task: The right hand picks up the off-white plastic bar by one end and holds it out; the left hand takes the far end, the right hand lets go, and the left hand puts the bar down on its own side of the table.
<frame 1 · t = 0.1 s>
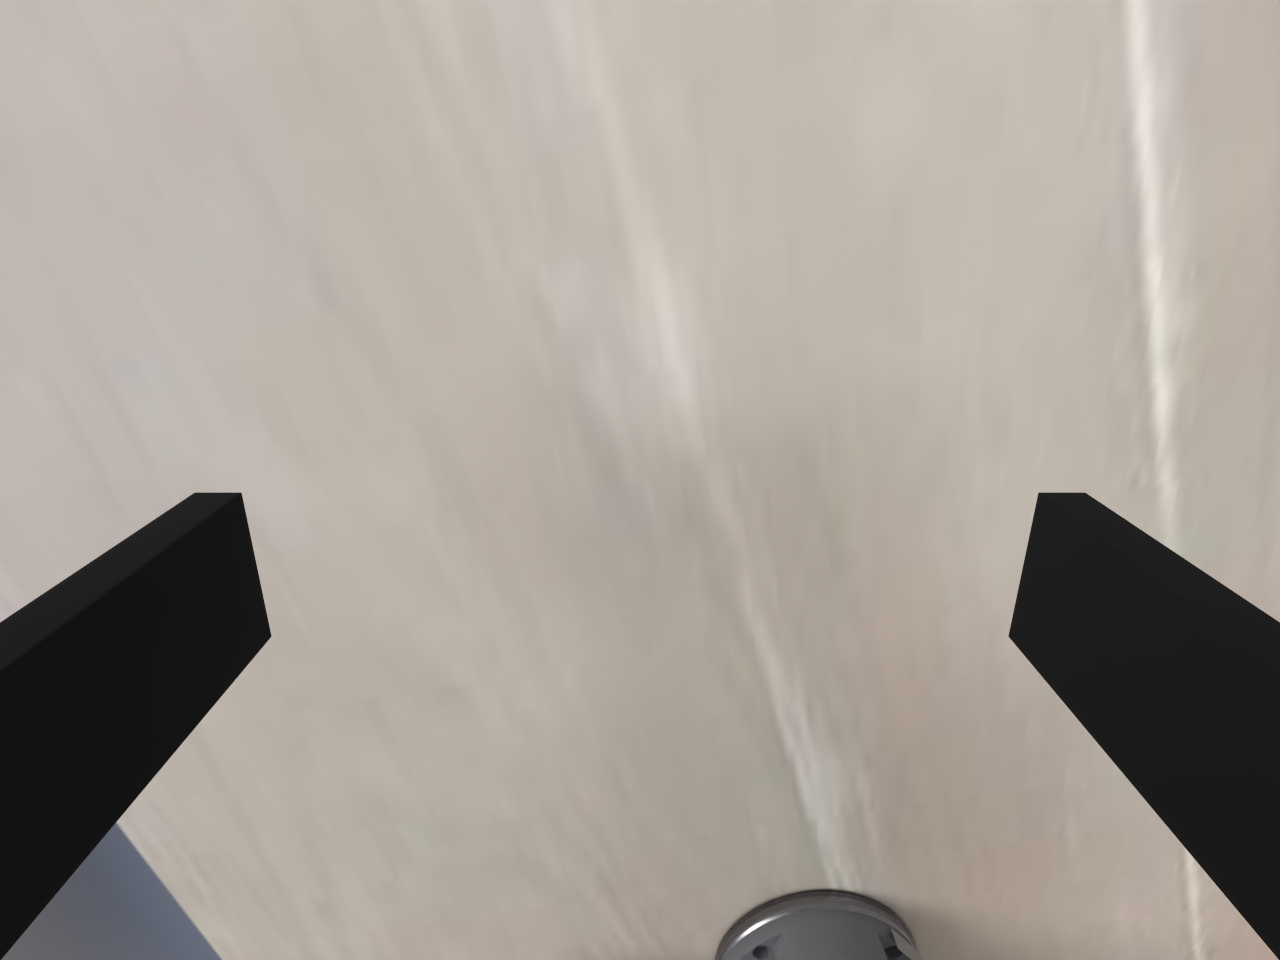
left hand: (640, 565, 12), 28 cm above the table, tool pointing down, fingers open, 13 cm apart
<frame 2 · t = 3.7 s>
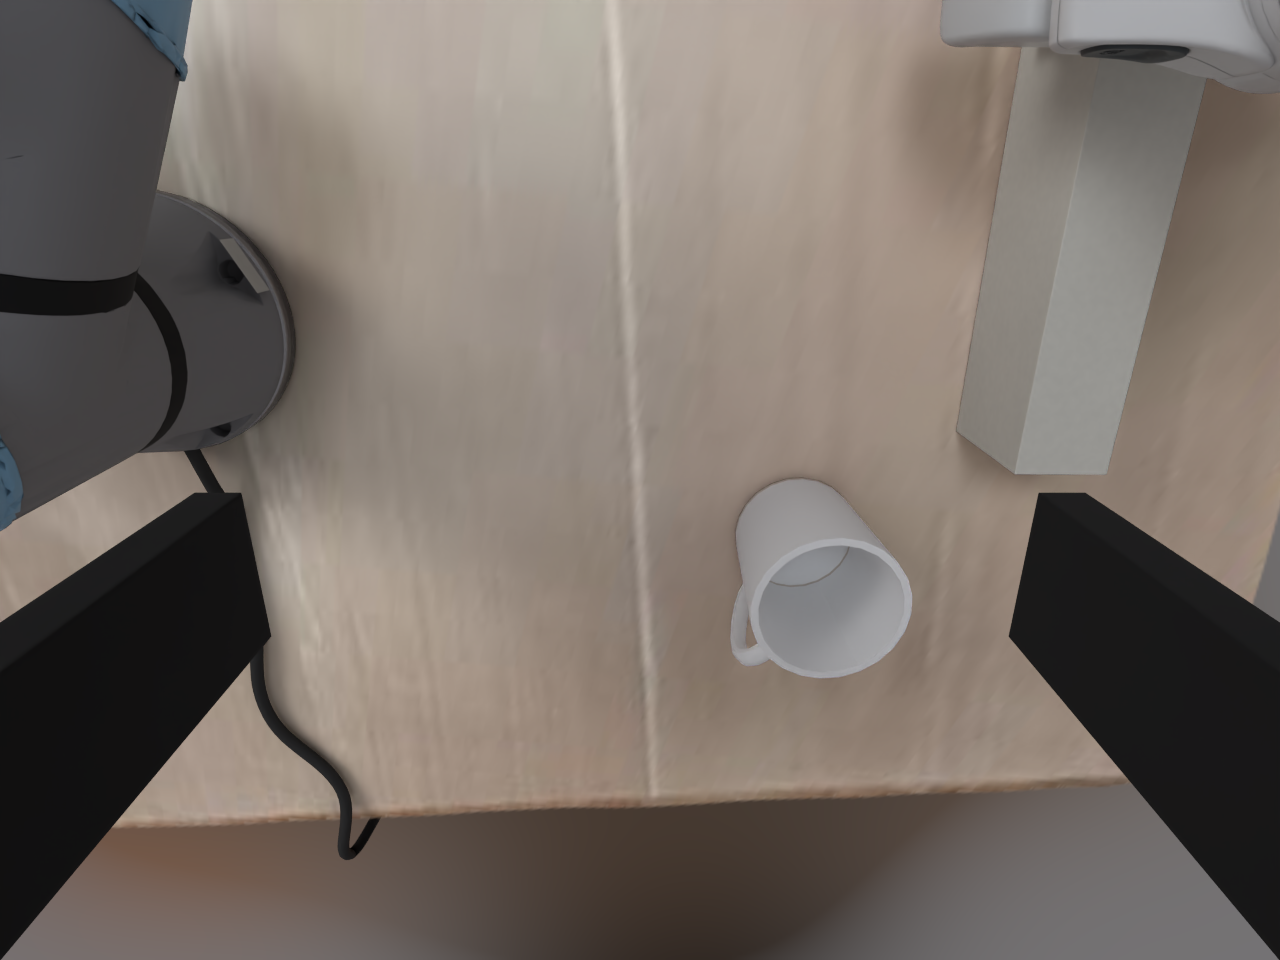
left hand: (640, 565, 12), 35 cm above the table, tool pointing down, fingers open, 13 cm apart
bar: (1034, 221, 43), on the table, touching right hand
mug: (781, 539, 51), on the table
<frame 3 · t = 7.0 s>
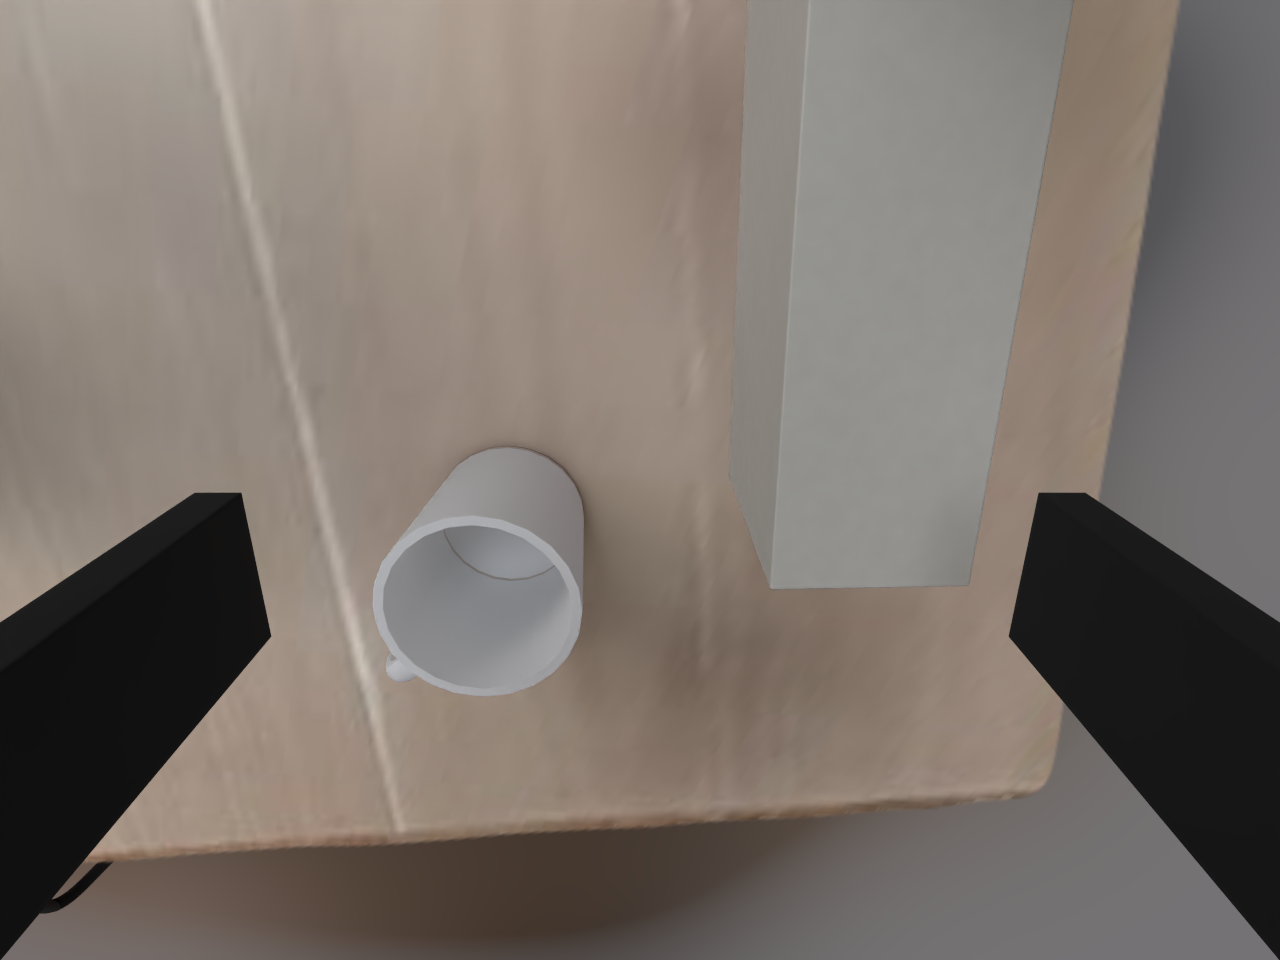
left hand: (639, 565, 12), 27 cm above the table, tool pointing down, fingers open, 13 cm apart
bar: (832, 60, 21), point 14 cm above the table, touching right hand
mug: (499, 522, 42), on the table
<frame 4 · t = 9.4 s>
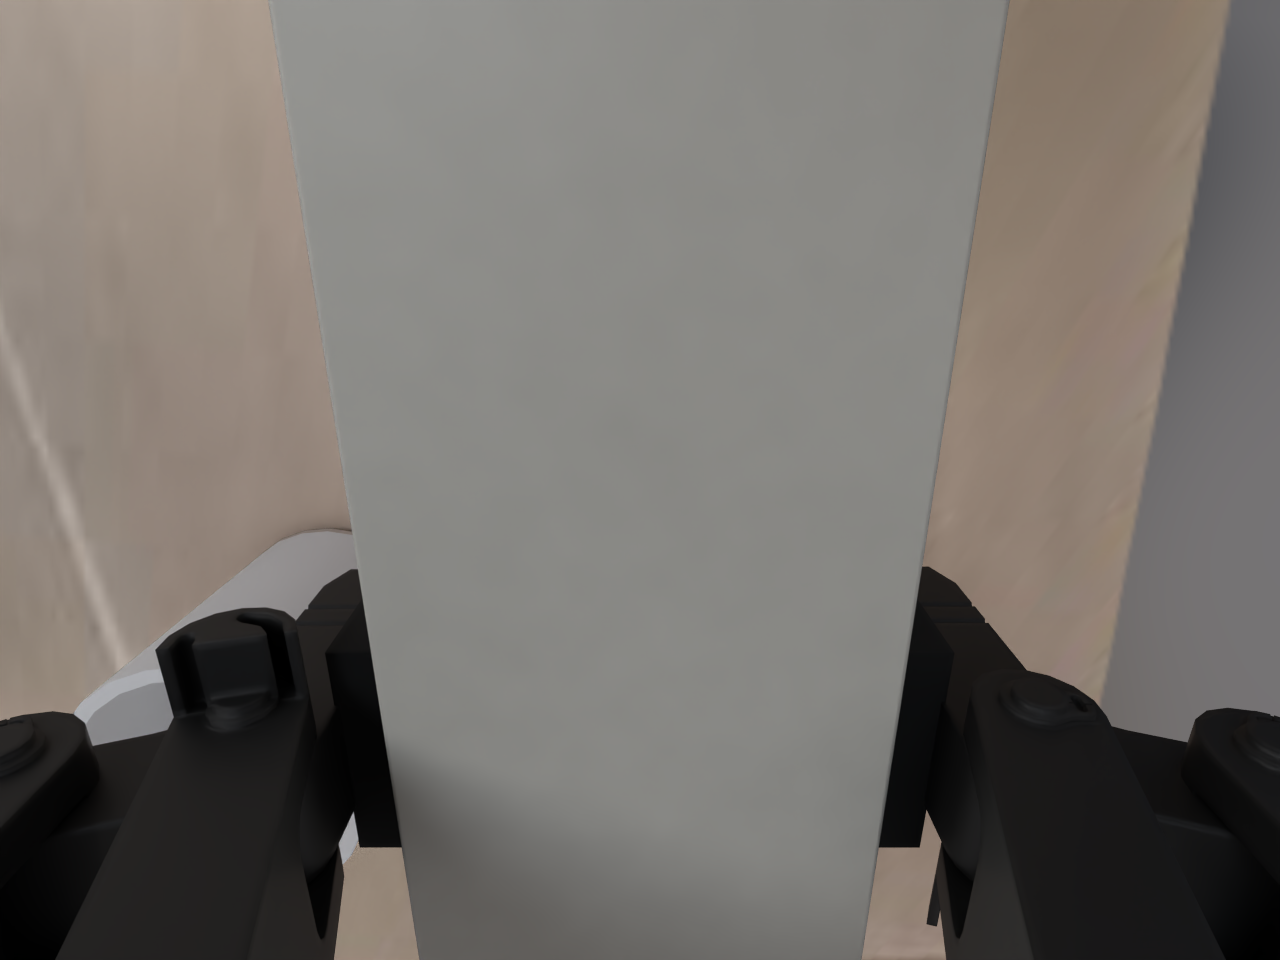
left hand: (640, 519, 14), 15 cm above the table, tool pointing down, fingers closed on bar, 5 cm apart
mug: (330, 623, 32), on the table
when the right hand's fingers open (16 cm above the table, at t = 10.3 s): bar stays where it is, held by the left hand.
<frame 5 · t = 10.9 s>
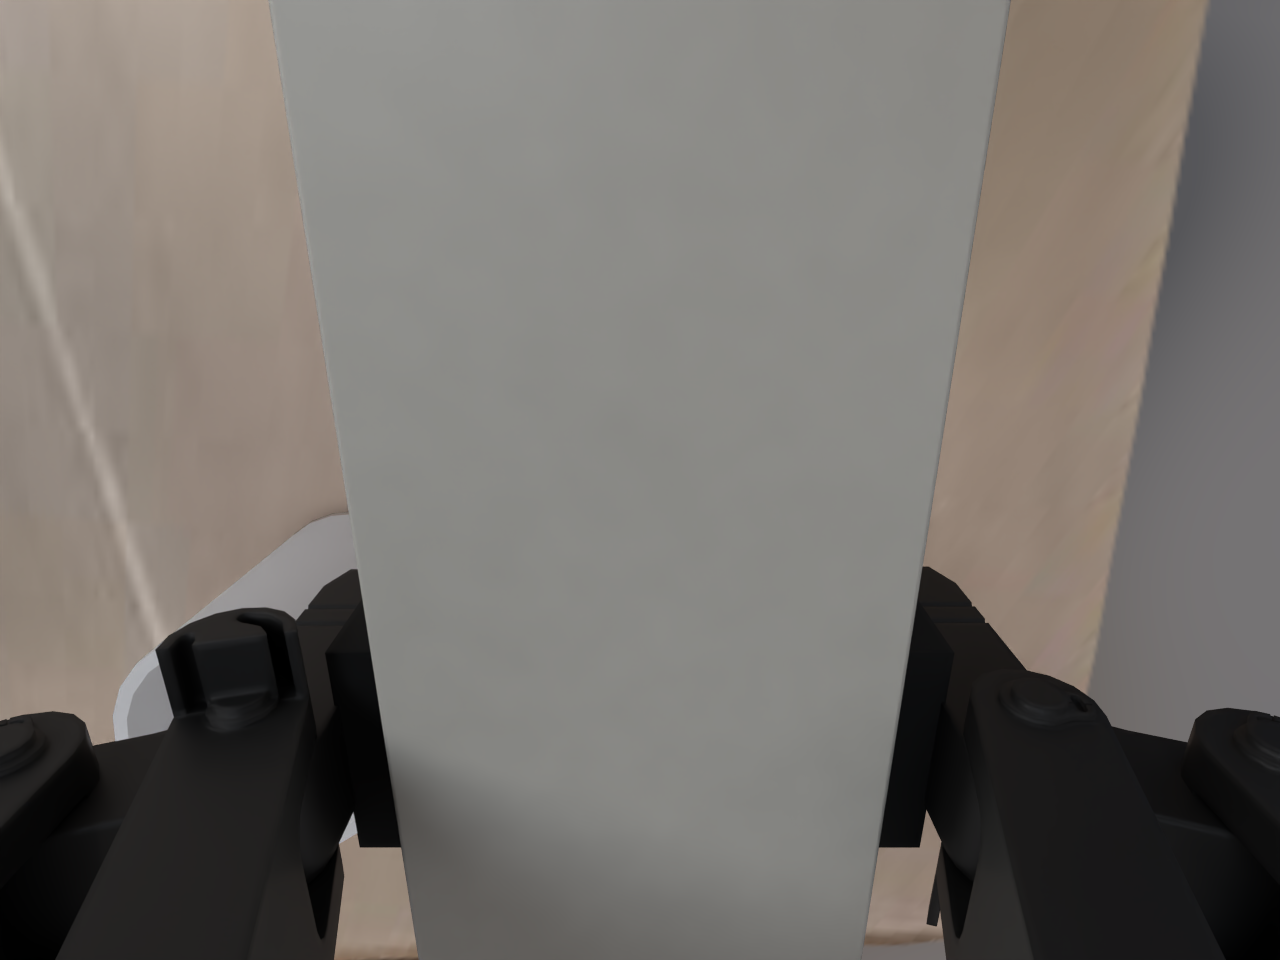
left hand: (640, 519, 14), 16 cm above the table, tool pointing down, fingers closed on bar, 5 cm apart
mug: (355, 602, 34), on the table
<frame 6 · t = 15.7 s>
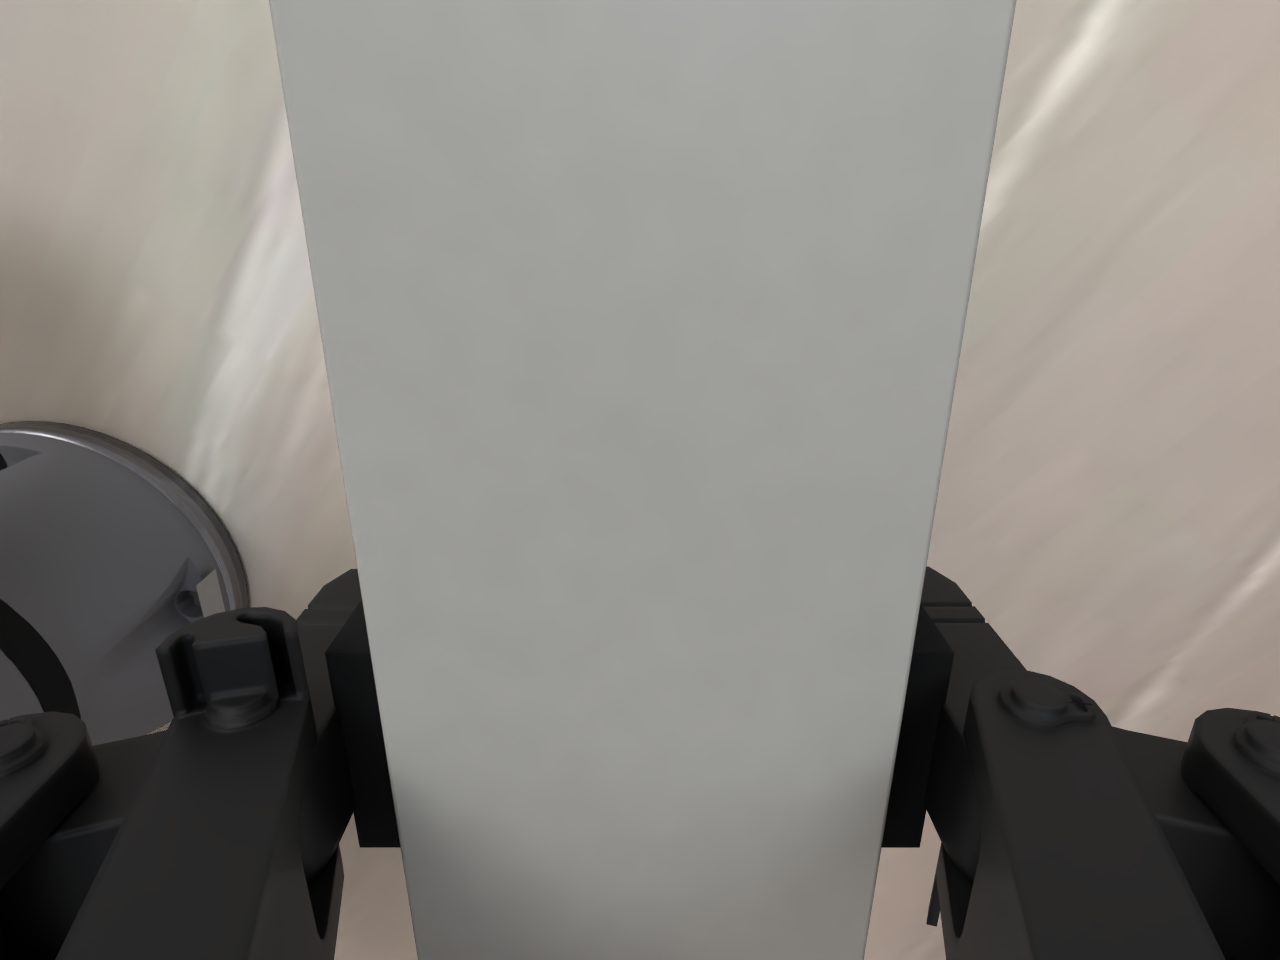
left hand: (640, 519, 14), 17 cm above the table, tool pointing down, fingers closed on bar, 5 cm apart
when the left hand's fingers open (3 cm above the table, at t = 22.1 s): bar drops 2 cm, on the table.
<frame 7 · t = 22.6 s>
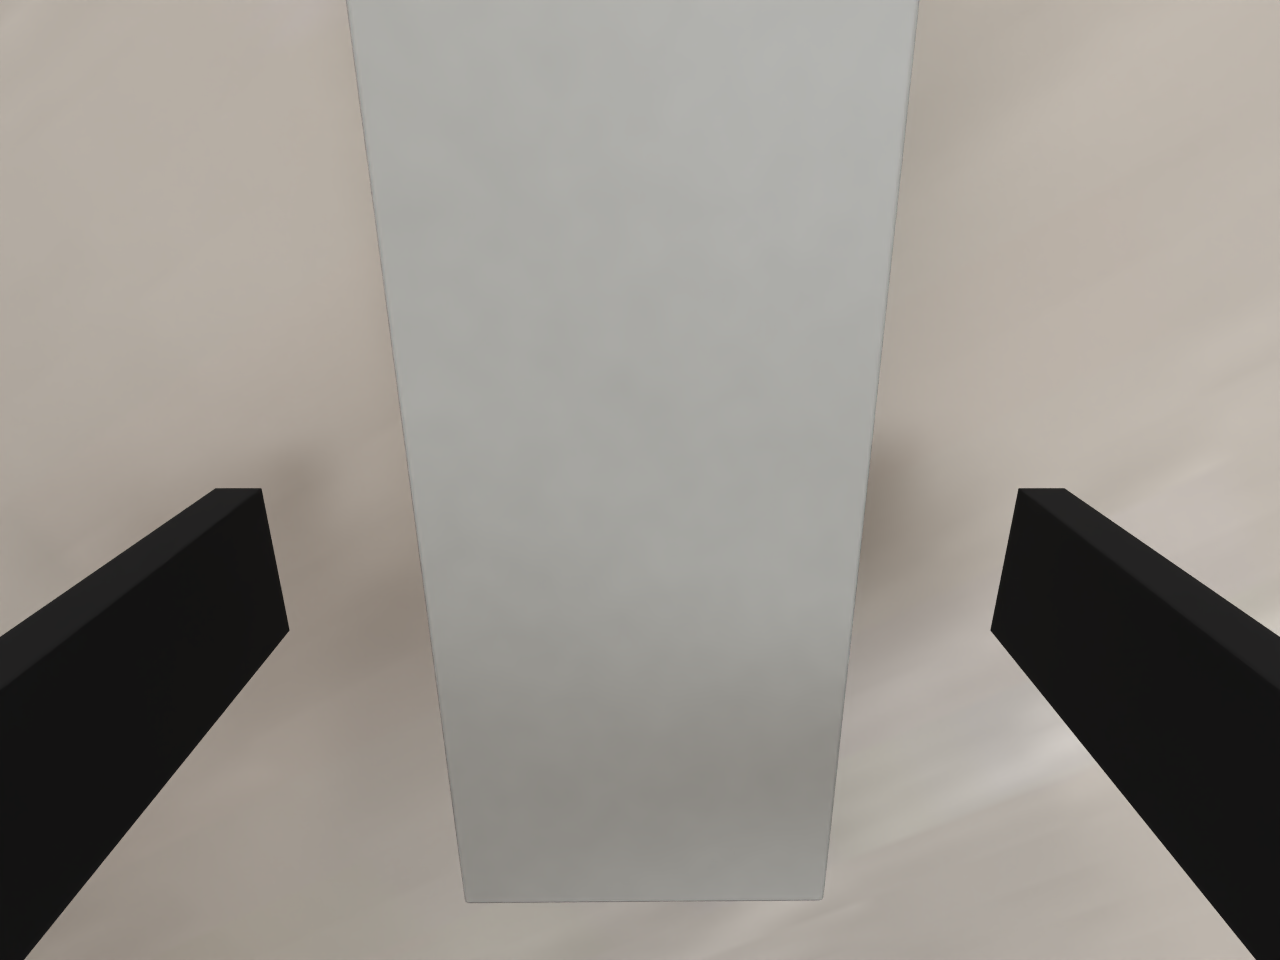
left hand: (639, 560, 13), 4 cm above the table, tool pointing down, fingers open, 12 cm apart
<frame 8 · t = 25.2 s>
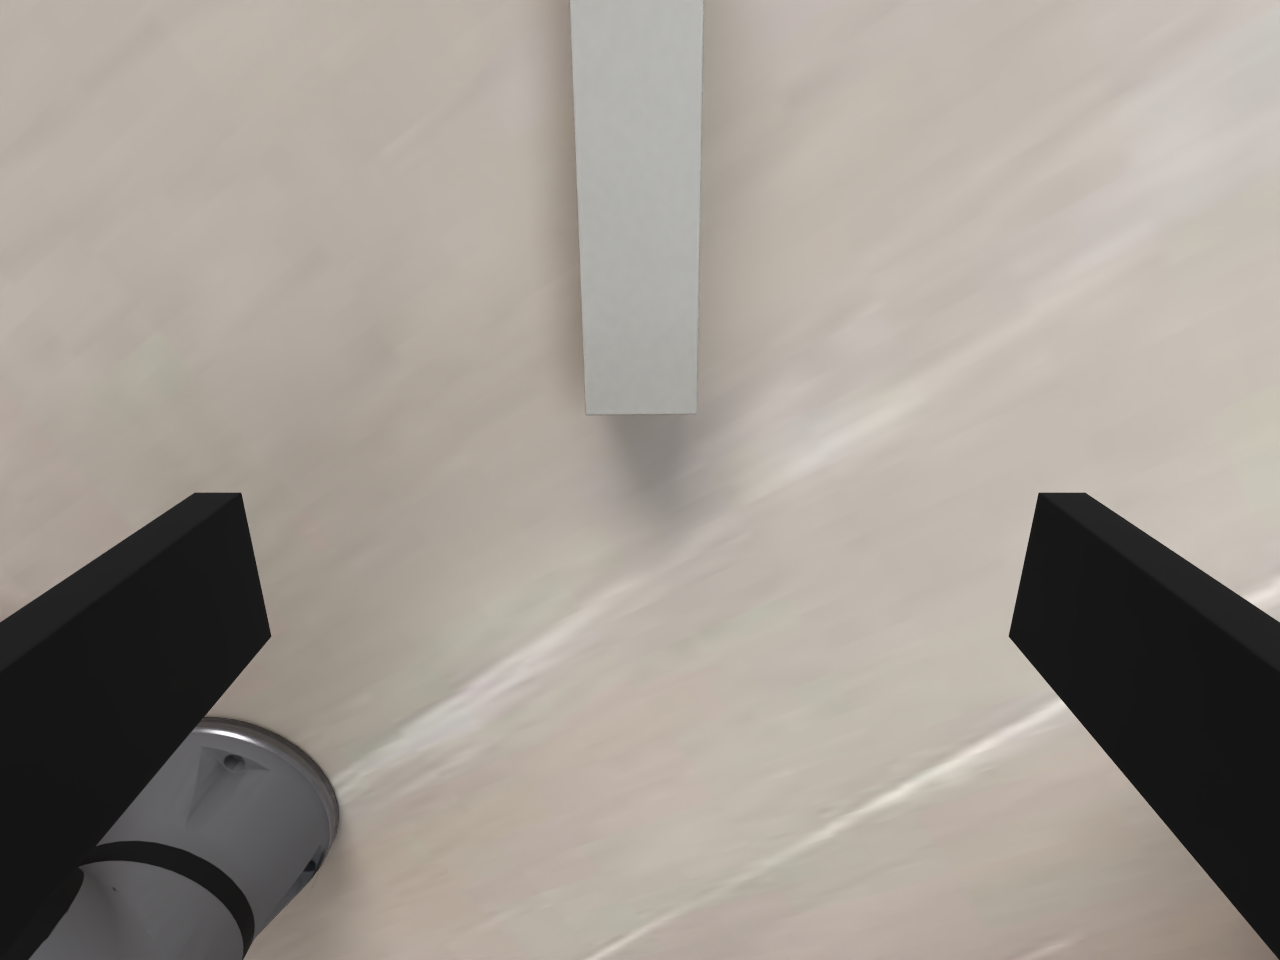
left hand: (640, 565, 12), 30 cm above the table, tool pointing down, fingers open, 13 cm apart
bar: (638, 119, 37), on the table
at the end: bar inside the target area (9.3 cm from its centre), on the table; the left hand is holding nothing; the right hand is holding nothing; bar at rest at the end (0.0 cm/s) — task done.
